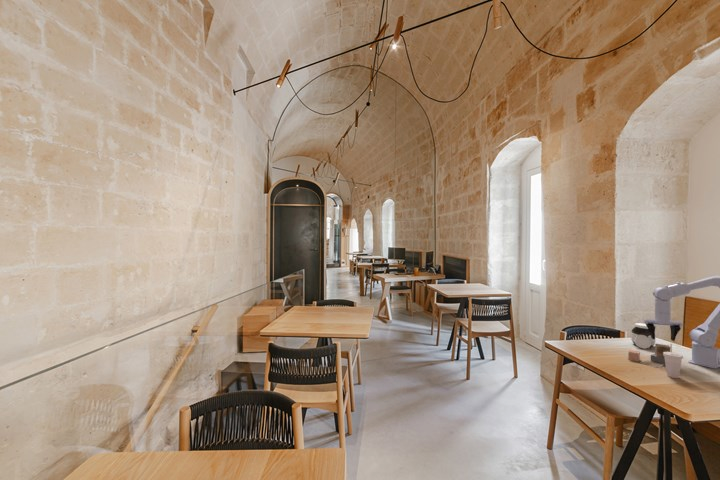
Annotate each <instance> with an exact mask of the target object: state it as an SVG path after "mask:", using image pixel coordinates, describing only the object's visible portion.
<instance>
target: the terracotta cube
mask: <svg viewBox="0 0 720 480" xmlns="http://www.w3.org/2000/svg"><path fill="white" fill-rule="evenodd" d="M627 357H628V360H629V361H634V362H639V363H640V361H641V351H639V350H633V349H629V350H628V356H627ZM628 360H627V361H628Z"/></svg>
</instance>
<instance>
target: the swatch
mask: <svg viewBox="0 0 720 480" xmlns="http://www.w3.org/2000/svg"><path fill="white" fill-rule="evenodd" d="M639 364H642V365H646V366H650V367H653V368H660V367H662V366H665V365H664V364H660V363H656V362H652V361H651V360H648V359H646V360H643V361H641V362H640V361H639Z"/></svg>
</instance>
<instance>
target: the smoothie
mask: <svg viewBox="0 0 720 480" xmlns="http://www.w3.org/2000/svg"><path fill="white" fill-rule="evenodd" d="M669 346H670V352H663V355H664V358H665V365H664V366H665V370H666V376H667V377H670V378H674V379H678V378H680V372H681V366H682V359H684V356H683V354H680V353H677V352H673V344H672V343H670V345H669Z"/></svg>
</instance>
